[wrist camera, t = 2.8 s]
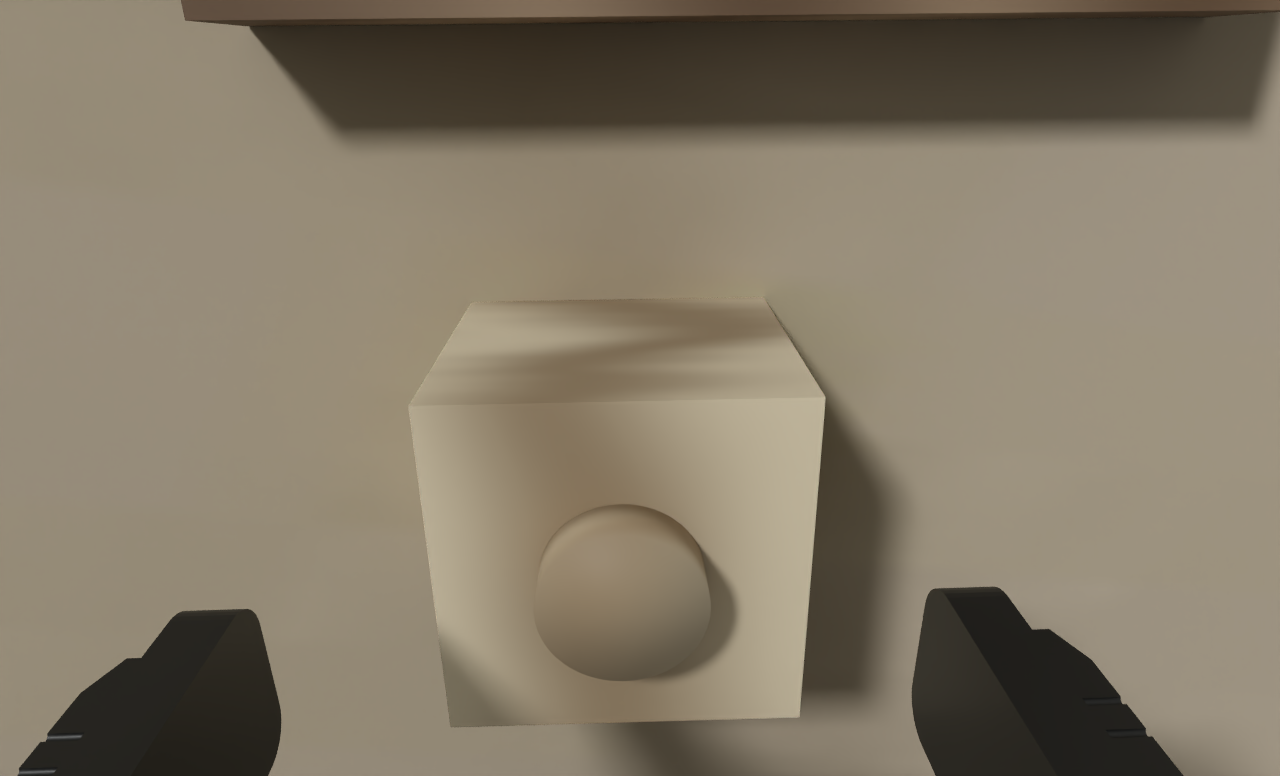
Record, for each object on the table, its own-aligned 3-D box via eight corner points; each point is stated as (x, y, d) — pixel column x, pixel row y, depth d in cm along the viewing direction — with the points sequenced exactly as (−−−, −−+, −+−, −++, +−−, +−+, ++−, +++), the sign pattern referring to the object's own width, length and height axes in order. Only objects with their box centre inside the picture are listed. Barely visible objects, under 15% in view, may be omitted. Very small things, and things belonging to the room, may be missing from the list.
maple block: (762, 295, 15) (841, 422, 10) (750, 541, 17) (811, 757, 12) (472, 300, 15) (392, 431, 10) (495, 548, 17) (440, 769, 12)
